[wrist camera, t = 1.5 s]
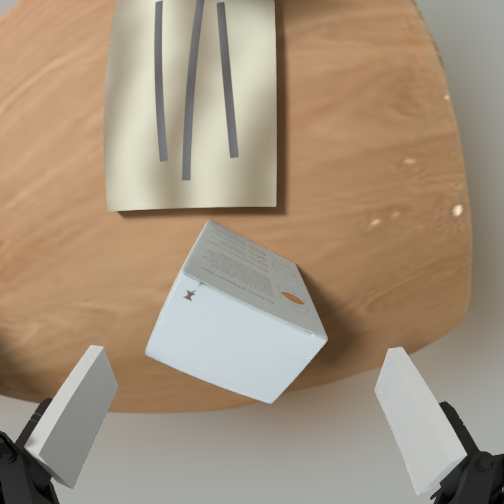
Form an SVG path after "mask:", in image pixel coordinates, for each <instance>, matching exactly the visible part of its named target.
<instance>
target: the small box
mask: <svg viewBox="0 0 504 504" xmlns="http://www.w3.org/2000/svg"><path fill="white" fill-rule="evenodd" d="M327 341H328V337H327V335H326V332H325V330H324V327H323V325H322V323H321V320H320V318H319V315H318V313H317V311H316V308H315V306H314V304H313V302H312V299H311V297H310V295H309V292H308V290H307V288H306V286H305V284H304V281H303V279H302V277H301V275H300V272H299V270H298V268H297V265H296V264H295V263H293V262H291V261H289V260H287V259H285V258H283V257H281V256H279V255H278V254H276V253H274V252H272V251H270V250H268V249H266V248H264V247H262V246H260V245H258V244H256V243H254V242H253V241H251V240H249V239H247V238H245V237H243V236H241V235H239V234H237V233H235V232H233V231H231V230H229V229H227V228H225V227H223V226H221V225H220V224H218V223H216V222H214V221H212V220H210V219H209V220H208V221H207V222H206V224H205V226H204V228H203V230H202V231H201V233H200V235H199V237H198V239H197V240H196V242H195V244H194V246H193V248H192V249H191V251H190V253H189V255H188V256H187V258H186V260H185V262H184V264H183V266H182V268H181V270H180V272H179V274H178V276H177V278H176V280H175V282H174V284H173V286H172V288H171V290H170V292H169V294H168V297H167V299H166V301H165V303H164V306H163V308H162V310H161V313H160V315H159V317H158V320H157V322H156V325H155V327H154V330H153V332H152V335H151V337H150V340H149V342H148V345H147V347H146V350H145V355H146V356H148V357H151V358H153V359H155V360H157V361H159V362H161V363H164V364H166V365H168V366H170V367H172V368H175V369H177V370H179V371H182V372H184V373H186V374H189V375H191V376H194V377H196V378H199V379H201V380H204V381H206V382H209V383H211V384H214V385H216V386H219V387H222V388H225V389H227V390H230V391H233V392H236V393H239V394H241V395H244V396H247V397H250V398H254V399H257V400H260V401H263V402H266V403H269V404H271V403H273V402H274V400H276V399H277V398H278V397H279V396H280V395H281V394H282V392H283V391H284V390H285V389H286V388H287V387H288V386H289V385H290V384H291V383H292V382H293V381H294V379H295V378H296V377H297V376H298V375H299V374H300V373H301V372H302V370H303V369H304V368H305V367H306V366H307V365H308V363H309V362H310V361H311V360H312V359H313V358H314V356H315V355H316V354H317V353H318V352H319V351H320V349H321V348H322V347H323V346H324V345H325V344H326V342H327Z"/></svg>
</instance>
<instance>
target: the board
mask: <svg viewBox="0 0 504 504" xmlns="http://www.w3.org/2000/svg"><path fill="white" fill-rule="evenodd" d="M104 169H105V186H106V198H107V209H108V212H111V211H127V210H146V209H169V208H201V207H276V185H277V86H276V34H275V3H274V0H117V1H116V6H115V11H114V16H113V22H112V28H111V34H110V41H109V49H108V57H107V67H106V79H105V95H104Z"/></svg>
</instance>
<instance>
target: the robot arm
mask: <svg viewBox="0 0 504 504" xmlns="http://www.w3.org/2000/svg"><path fill="white" fill-rule="evenodd" d="M118 388H119V387H118V384H117V382H116V379H115V377H114V374H113V371H112V369H111V366H110V363H109V360H108V358H107V355H106V352H105V349H104V347H101V346H95V345H91V346H90V347H89V348H88V350H87V351H86V352H85V354H84V355H83V357H82V358H81V359H80V361H79V362H78V364H77V365H76V366H75V368H74V369H73V371H72V372H71V374H70V375H69V376H68V378H67V379H66V381H65V382H64V384H63V385H62V387H61V388H60V390H59V391H58V393H57V394H56V396H55V397H54V399H50V398H47V399H46V400H45V401H43V402H42V403H41V404H40V405H39V406H38V408H37V409H36V411H35V414H33V415H32V417H31V420H29V421H28V423H27V425H26V426H25V428H24V429H23V431H22V433H21V434H20V436H19V438H18V439H17V441H16V442H15V443H13V442H12V440H11V439H10V438H9V437H8V436H7V434H6V433H4V432H2V431H0V504H59V501H58V498H57V495H56V493H55V490H54V487H53V484H52V483H51V481H50V480H51V477H53V478H54V479H55V480H56V481H57V482H58V483H60V484H62V485H65V486H67V487H69V488H71V489H73V488H74V486H75V483H76V481H77V478H78V476H79V474H80V471H81V469H82V466H83V464H84V462H85V459H86V457H87V455H88V452H89V450H90V448H91V446H92V444H93V441H94V439H95V437H96V435H97V432H98V430H99V428H100V426H101V424H102V422H103V419H104V417H105V415H106V413H107V411H108V409H109V407H110V405H111V403H112V401H113V399H114V397H115V395H116V393H117V391H118ZM374 391H375V393H376V395H377V397H378V399H379V402H380V404H381V406H382V409H383V411H384V414H385V416H386V418H387V420H388V423H389V425H390V428H391V430H392V432H393V435H394V437H395V440H396V442H397V445H398V447H399V449H400V452H401V455H402V457H403V460H404V462H405V465H406V468H407V470H408V473H409V476H410V478H411V481H412V484H413V486H414V489H415V492H416V495H419V494H422V493H425V492H427V491H429V490H432V489H433V488H434V487H435V486H437V485H438V484H439V483H440V485H441V488H440V489H439V490H438V491H437V492H435V493H434V494H433V495H432V496H431V498H430V499H431V500H432V499H433V498H434V497H436V499H435V501H434V504H504V491H503V490H504V489H503V490H502V488H504V454H500V455H495V456H492V455H491V454H490V453H488V452H483V451H479V449H478V448H477V446H476V444H475V442H474V441H473V439H472V437H471V435H470V434H469V432H468V430H467V429H466V427H465V426H464V425H463V422H462V420H461V419H460V418H459V416H458V414H457V412H456V411H455V409H454V408H453V407H452V406H451V405H450V404H448V403H447V402H442V403H439V404H438V402H437V401H436V399H435V397H434V396H433V394H432V392H431V391H430V389H429V388H428V386H427V384H426V383H425V381H424V380H423V378H422V376H421V375H420V373H419V372H418V370H417V369H416V367H415V366H414V364H413V363H412V361H411V360H410V358H409V356H408V355H407V353H406V352H405V351H404V349H403V348H402V347H397V348H390V349H388V351H387V354H386V357H385V361H384V364H383V367H382V369H381V372H380V375H379V378H378V381H377V384H376V386H375V389H374Z"/></svg>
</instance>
